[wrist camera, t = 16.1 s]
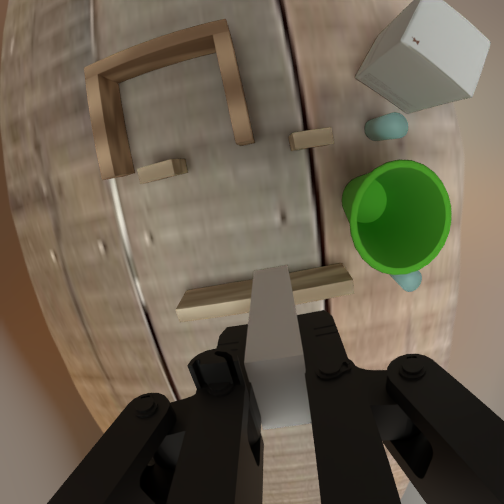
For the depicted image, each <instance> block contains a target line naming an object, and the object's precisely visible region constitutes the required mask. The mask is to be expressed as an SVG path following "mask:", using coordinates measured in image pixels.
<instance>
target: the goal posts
mask: <svg viewBox="0 0 504 504" xmlns="http://www.w3.org/2000/svg"><path fill="white" fill-rule="evenodd" d="M407 131H408V123H407V120H406V119H405V117H404V116H403V115H401V114H400V113H396V112H394V113H390V114H387V115H384V116H381V117H378V118H375V119H372V120H369V121H368V122H367V123H366V125H365V133H366V135H367V137H368V138H369V139H371V140H373V141H380V140H388V139H396V138H402V137H404V136H405V135H406V134H407ZM389 275H390V276H391V277H392V278H393V279H394V280H395V281H396V282H397V283H398V284H399V285H400V286H401V287H402V288H403V289H404V290H405V291H408V292H411V291H414V290H416V289H417V288H418V287H419V285H420V284H421V280H422V276H421V273H420V272H419V271H415V272H412V273H409V274H403V275H391V274H389Z"/></svg>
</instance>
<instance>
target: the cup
mask: <svg viewBox="0 0 504 504" xmlns="http://www.w3.org/2000/svg"><path fill="white" fill-rule="evenodd" d="M342 206H343V209H344V212H345V214H346V216H347V218H348V221H349V223H350V232H351V237H352V240H353V243H354V246H355V248H356V250H357V251H358V253H359V254H360V256H361V257H362V259H363V260H364V261H365V262H367V263H368V264H369V265H370V266H371V267H372V268H374V269H376V270H378V271H380V272H382V273H386V274H391V275H403V274H409V273H412V272H415V271H418V270H420V269H421V268H423V267H424V266H426V265H428V264H429V263H430V262H431V261H432V260H433V259H434V258H435V257H436V256H437V255H438V254H439V252H440V250H441V249H442V247H443V246H444V244H445V242H446V239H447V237H448V234H449V231H450V225H451V204H450V200H449V196H448V193H447V191H446V189H445V187H444V185H443V183H442V181H441V180H440V179H439V178H438V176H437V175H436V174H435V173H434V172H433V171H432V170H430V169H429V168H428V167H426V166H425V165H423V164H421V163H418V162H415V161H412V160H395V161H391V162H387V163H385V164H383V165H381V166H379V167H377V168H375V169H374V170H373V171H372V172H371V173H368V174H365V175H362V176H359V177H356V178H355V179H353V180H351V181H350V182H349V183H348V184H347V186H346V187H345V189H344V192H343V195H342Z"/></svg>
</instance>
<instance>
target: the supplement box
mask: <svg viewBox="0 0 504 504" xmlns="http://www.w3.org/2000/svg"><path fill="white" fill-rule="evenodd" d="M490 43H491V42H490V41H489V40H488V39H487V38H486V37H485V36H484V35H483V34H482V33H481V32H480V31H479V30H478V29H477V28H476V27H474V26H473V25H472V24H471V23H470V22H469V21H468V20H467V19H465V18H464V17H463V16H462V15H461V14H459V13H458V12H457V11H456V10H454V9H453V8H452V7H451V6H449V5H448V4H447V3H446V2H445V1H443V0H413V1H412V2H411V3H410V4H409V5H408V6H407V7H406V8H405V9H404V10H403V11H402V12H401V13H400V14H399V15H398V16H397V17H396V18H395V19H394V20H393V21H392V22H391V23H390V24H389V25H388V26H387V27H386V28H385V29H384V30H383V31H382V32H381V33H380V34H379V35H378V37H377V38H376V40H375V42H374V44H373V45H372V47H371V49H370V51H369V52H368V54H367V56H366V58H365V60H364V62H363V63H362V65H361V67H360V69H359V71H358V73H357V74H356V76H355V78H356V79H358V80H359V81H361V82H362V83H364V84H365V85H367V86H368V87H370V88H371V89H373V90H374V91H376V92H377V93H379V94H380V95H382V96H383V97H384V98H386V99H387V100H389V101H390V102H392V103H393V104H394V105H396V106H397V107H399V108H400V109H401V110H403V111H404V112H406V113H407V114H409V113H412V112H416V111H420V110H423V109H427V108H431V107H434V106H438V105H442V104H446V103H450V102H454V101H458V100H462V99H467V98H472V96H473V94H474V91H475V89H476V85H477V83H478V80H479V78H480V75H481V72H482V69H483V66H484V63H485V59H486V57H487V53H488V50H489V47H490Z"/></svg>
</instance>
